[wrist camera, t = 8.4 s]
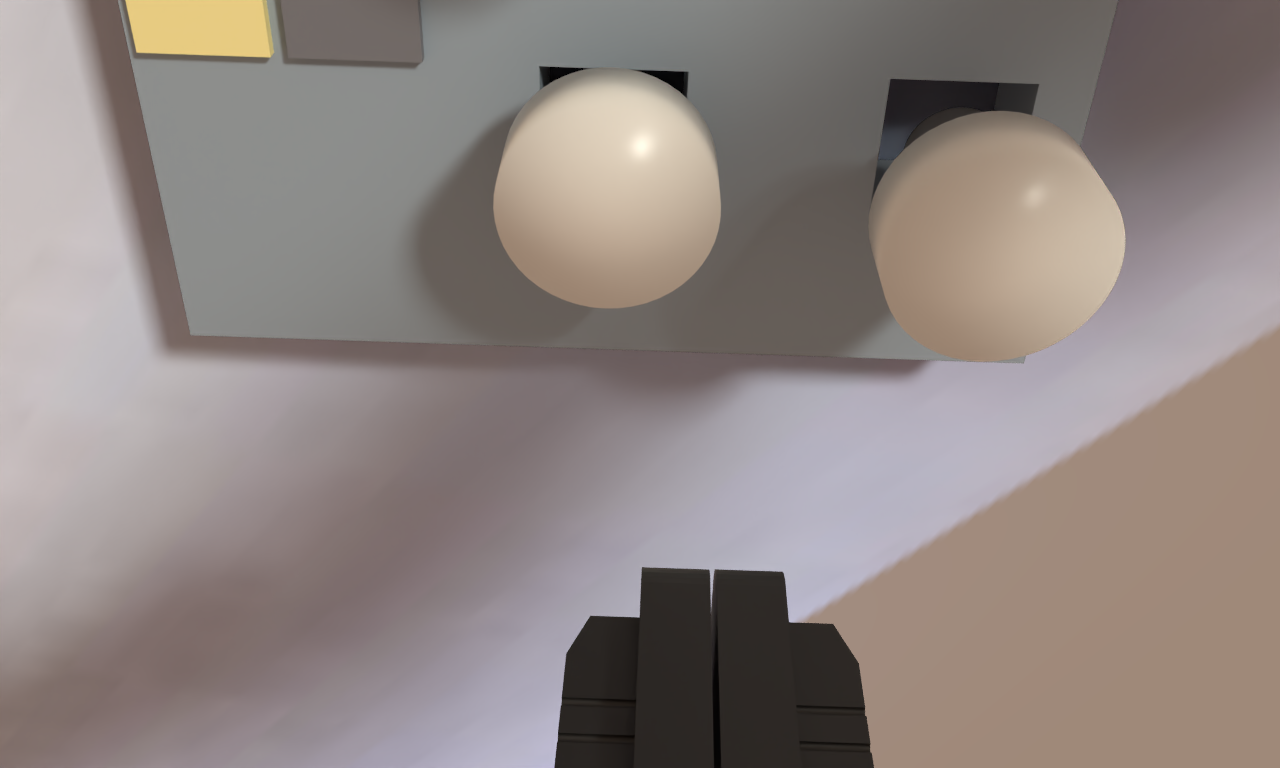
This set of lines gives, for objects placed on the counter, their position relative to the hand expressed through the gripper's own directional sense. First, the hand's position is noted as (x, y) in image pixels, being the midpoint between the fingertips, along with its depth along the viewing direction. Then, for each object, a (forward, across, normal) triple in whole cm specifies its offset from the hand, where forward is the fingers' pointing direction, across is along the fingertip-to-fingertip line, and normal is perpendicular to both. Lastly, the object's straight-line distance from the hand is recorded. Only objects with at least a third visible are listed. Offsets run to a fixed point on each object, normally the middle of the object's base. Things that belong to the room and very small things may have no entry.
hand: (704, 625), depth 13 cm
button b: (+17, -6, +3) cm, 19 cm away
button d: (+19, +2, +3) cm, 19 cm away
